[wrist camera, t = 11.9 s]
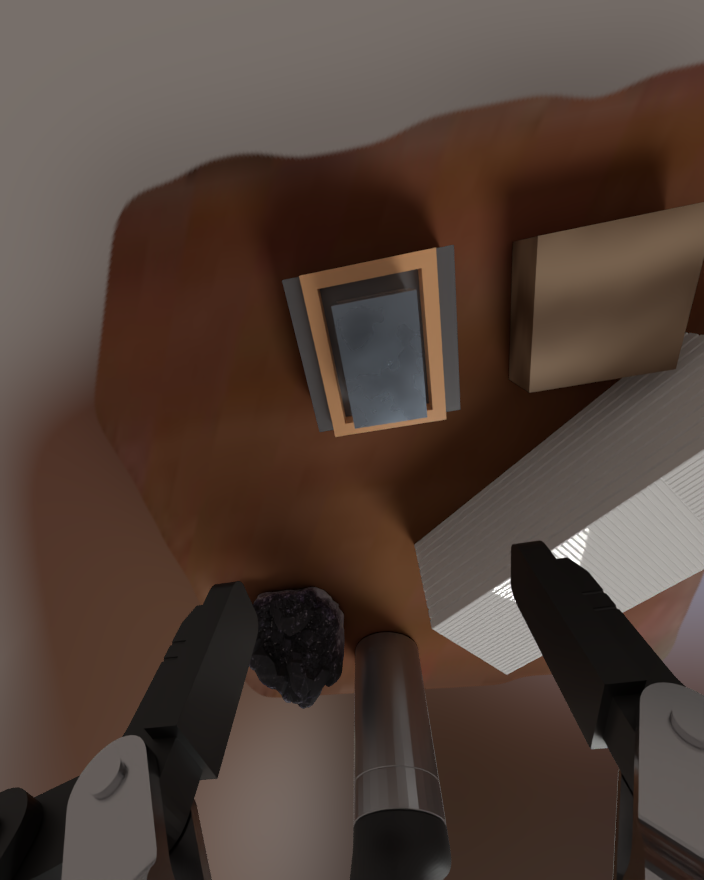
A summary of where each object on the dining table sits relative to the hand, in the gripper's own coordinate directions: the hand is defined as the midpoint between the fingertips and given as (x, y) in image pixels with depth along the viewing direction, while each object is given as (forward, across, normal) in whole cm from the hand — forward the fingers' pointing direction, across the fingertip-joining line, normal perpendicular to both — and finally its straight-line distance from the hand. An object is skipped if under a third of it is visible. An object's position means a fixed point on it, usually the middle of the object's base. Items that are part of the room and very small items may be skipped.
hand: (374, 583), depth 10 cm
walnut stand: (+22, -19, -3) cm, 30 cm away
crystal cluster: (+24, +14, +31) cm, 42 cm away
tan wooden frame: (+23, -2, -3) cm, 23 cm away
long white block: (+23, -18, +15) cm, 33 cm away
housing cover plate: (+16, -2, -3) cm, 16 cm away
